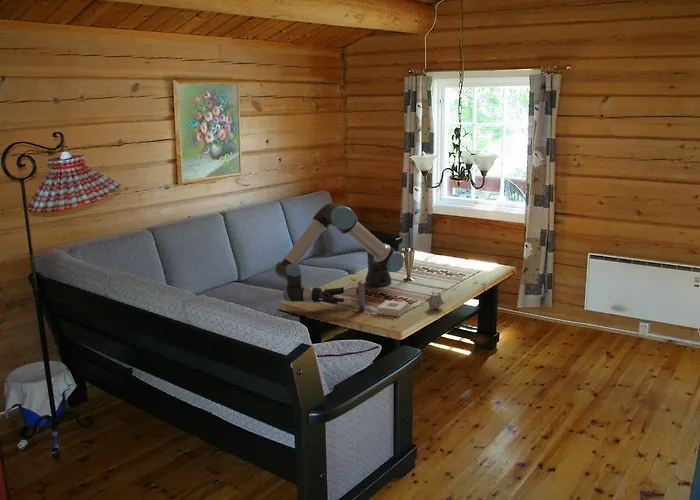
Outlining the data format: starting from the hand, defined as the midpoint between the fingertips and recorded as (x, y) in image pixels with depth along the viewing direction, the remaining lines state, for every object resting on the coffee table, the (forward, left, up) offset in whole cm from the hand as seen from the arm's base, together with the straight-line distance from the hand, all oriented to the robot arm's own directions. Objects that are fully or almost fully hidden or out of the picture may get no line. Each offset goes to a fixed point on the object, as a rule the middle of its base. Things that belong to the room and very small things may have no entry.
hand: (353, 295), depth 345 cm
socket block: (-6, +19, -8) cm, 22 cm away
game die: (-17, +38, -8) cm, 42 cm away
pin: (-2, +4, -8) cm, 9 cm away
